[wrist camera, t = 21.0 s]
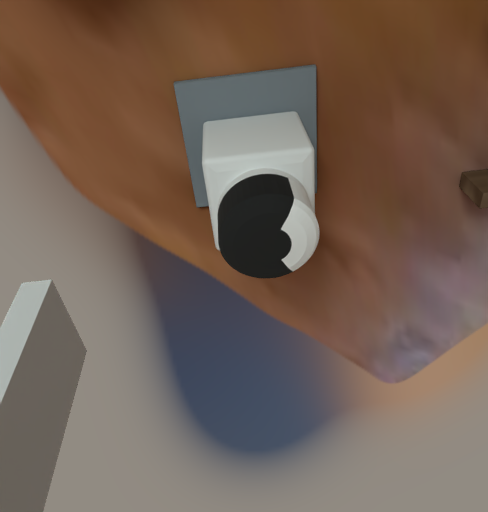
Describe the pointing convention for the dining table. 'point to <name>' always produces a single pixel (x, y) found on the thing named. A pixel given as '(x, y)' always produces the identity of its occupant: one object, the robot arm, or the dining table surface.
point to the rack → (476, 186)
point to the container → (261, 192)
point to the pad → (243, 107)
